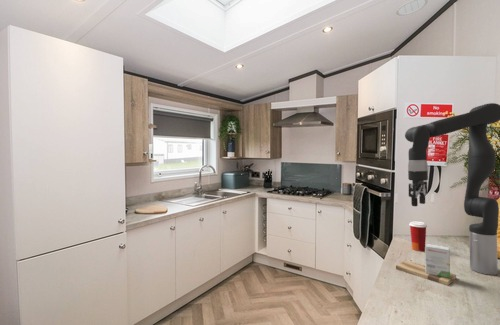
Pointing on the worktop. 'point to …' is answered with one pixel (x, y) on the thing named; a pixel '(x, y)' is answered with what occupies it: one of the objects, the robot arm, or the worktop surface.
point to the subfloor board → (423, 272)
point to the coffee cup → (418, 235)
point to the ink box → (437, 260)
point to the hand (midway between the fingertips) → (418, 204)
